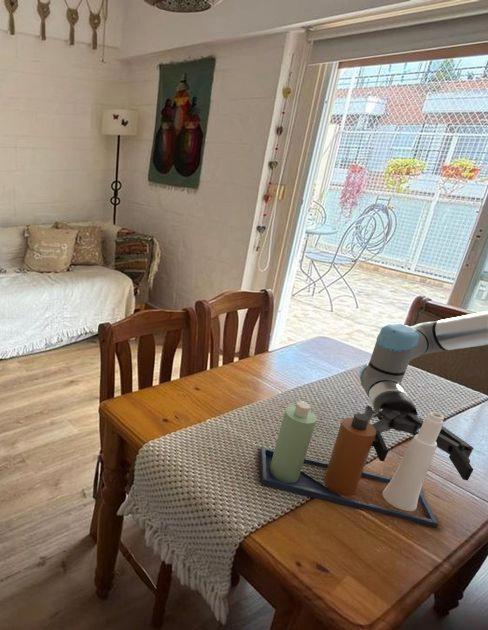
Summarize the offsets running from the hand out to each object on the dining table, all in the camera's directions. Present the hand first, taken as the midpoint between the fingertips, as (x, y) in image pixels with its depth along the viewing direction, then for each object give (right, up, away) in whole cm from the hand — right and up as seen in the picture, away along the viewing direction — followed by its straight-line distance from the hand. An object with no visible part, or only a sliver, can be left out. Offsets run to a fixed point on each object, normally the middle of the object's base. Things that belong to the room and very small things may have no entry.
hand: (425, 465), depth 84 cm
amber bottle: (-10, -8, +11) cm, 17 cm away
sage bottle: (-20, -7, +15) cm, 26 cm away
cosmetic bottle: (+1, -10, +8) cm, 13 cm away
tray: (-10, -9, +12) cm, 18 cm away
